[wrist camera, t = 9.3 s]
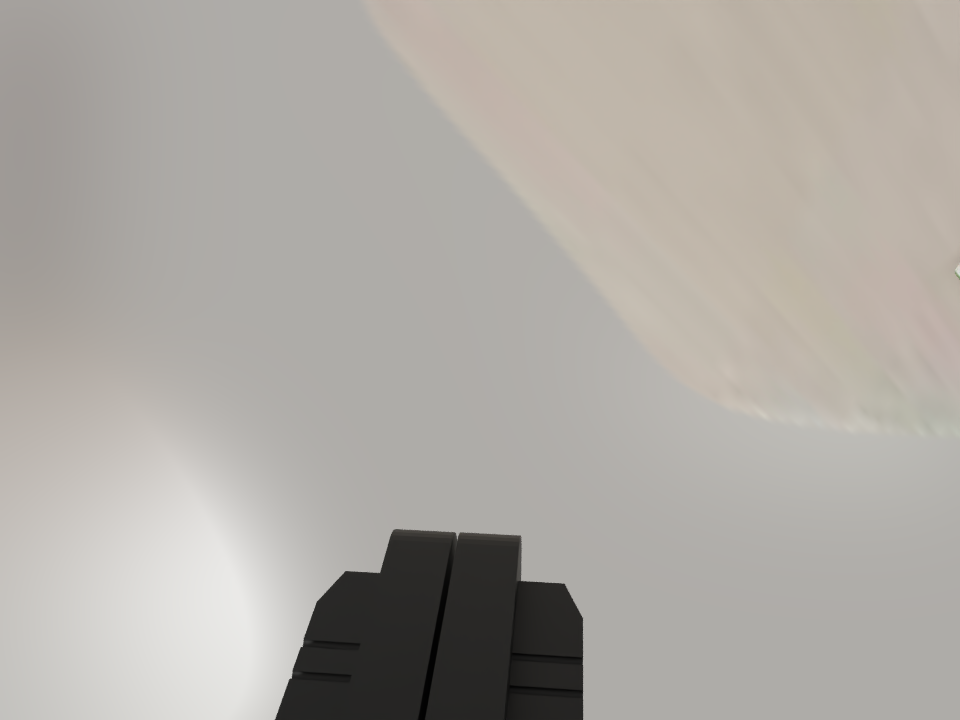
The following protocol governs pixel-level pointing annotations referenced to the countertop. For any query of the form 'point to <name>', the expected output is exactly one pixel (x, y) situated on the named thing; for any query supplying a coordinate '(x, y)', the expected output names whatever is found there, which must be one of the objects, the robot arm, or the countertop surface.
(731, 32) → the countertop surface
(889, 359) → the countertop surface
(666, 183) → the countertop surface
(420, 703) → the robot arm
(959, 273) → the syrup box
